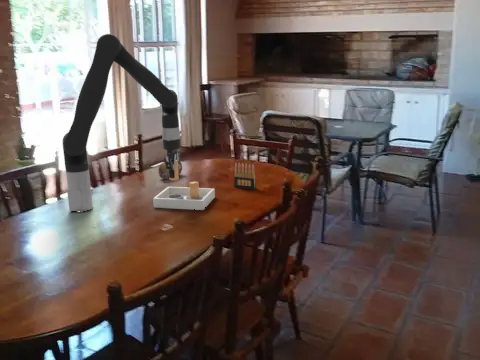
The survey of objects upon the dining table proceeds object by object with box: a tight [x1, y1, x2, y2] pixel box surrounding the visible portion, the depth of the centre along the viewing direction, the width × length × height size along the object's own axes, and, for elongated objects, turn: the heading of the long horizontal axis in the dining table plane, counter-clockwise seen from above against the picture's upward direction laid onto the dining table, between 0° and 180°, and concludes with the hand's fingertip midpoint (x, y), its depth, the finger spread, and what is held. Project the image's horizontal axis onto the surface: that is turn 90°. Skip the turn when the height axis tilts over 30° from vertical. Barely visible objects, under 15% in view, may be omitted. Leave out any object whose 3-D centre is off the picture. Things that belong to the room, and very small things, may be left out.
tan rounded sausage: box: [168, 160, 180, 181], centre depth 235 cm, size 4×4×8 cm
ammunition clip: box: [233, 162, 257, 190], centre depth 255 cm, size 11×2×12 cm, turn 64°
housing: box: [152, 181, 216, 211], centre depth 236 cm, size 18×22×9 cm
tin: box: [158, 161, 183, 180], centre depth 277 cm, size 15×3×8 cm, turn 143°
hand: (173, 176), depth 235 cm, fingers closed on tan rounded sausage, 4 cm apart
